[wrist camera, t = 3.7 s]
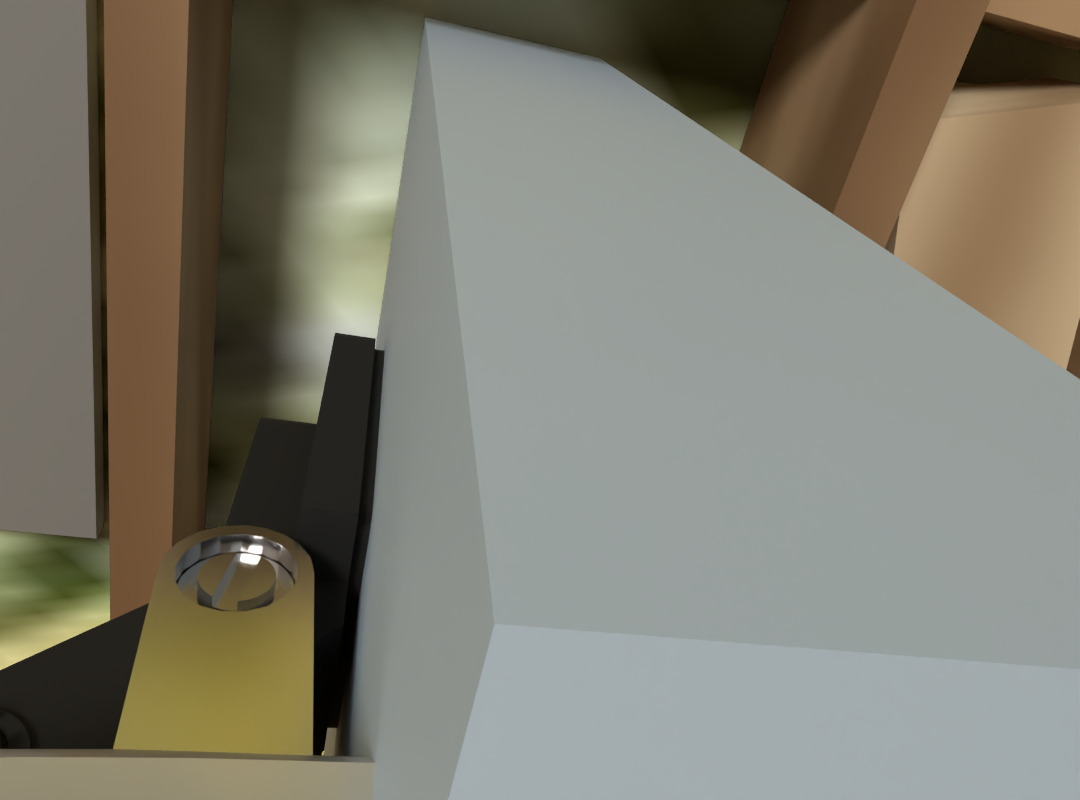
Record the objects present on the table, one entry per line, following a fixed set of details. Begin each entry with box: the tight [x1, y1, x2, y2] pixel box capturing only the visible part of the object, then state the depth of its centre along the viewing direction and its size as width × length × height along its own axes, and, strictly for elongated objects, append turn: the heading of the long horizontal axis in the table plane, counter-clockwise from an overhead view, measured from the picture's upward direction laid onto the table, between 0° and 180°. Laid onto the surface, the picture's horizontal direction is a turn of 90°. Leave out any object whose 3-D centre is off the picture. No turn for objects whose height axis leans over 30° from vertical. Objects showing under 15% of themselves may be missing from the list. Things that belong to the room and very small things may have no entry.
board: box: [324, 17, 1080, 800], centre depth 10 cm, size 3×10×14 cm, turn 167°
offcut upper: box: [884, 77, 1080, 370], centre depth 16 cm, size 4×12×2 cm, turn 5°
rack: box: [104, 0, 1080, 620], centre depth 15 cm, size 19×16×6 cm
